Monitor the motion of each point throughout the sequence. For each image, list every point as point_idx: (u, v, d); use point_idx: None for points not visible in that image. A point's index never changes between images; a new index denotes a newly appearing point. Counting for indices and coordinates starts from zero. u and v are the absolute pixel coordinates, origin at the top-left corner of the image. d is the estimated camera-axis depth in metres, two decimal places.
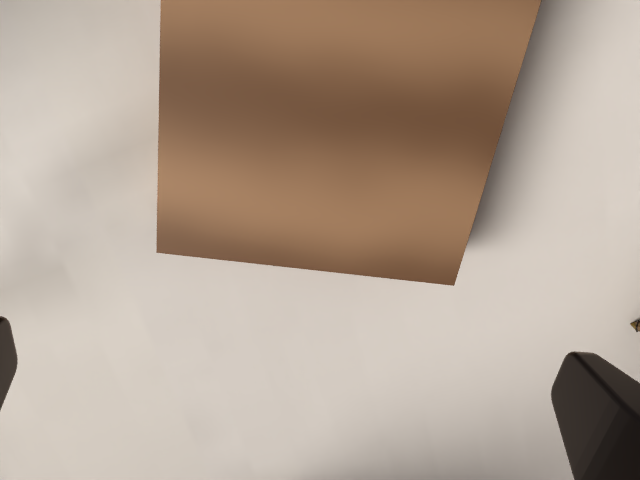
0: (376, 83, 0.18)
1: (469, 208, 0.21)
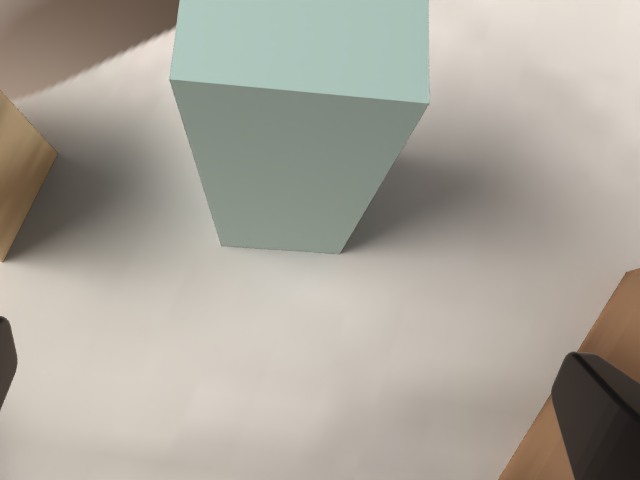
0: None
1: None
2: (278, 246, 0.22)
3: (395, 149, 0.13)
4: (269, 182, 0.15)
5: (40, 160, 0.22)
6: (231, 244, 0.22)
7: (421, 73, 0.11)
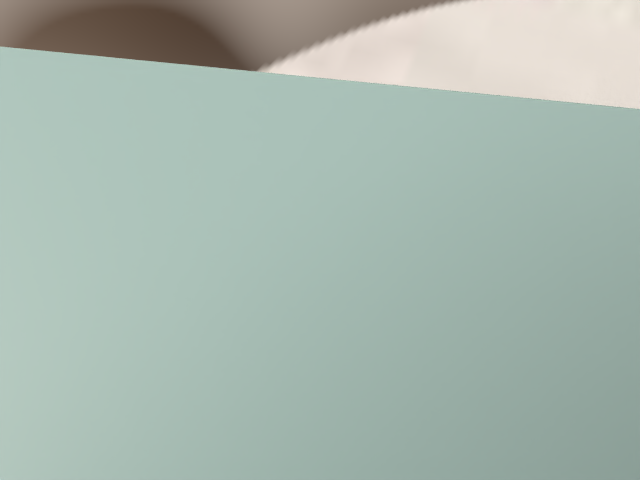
0: None
1: None
2: None
3: None
4: None
5: None
6: None
7: None
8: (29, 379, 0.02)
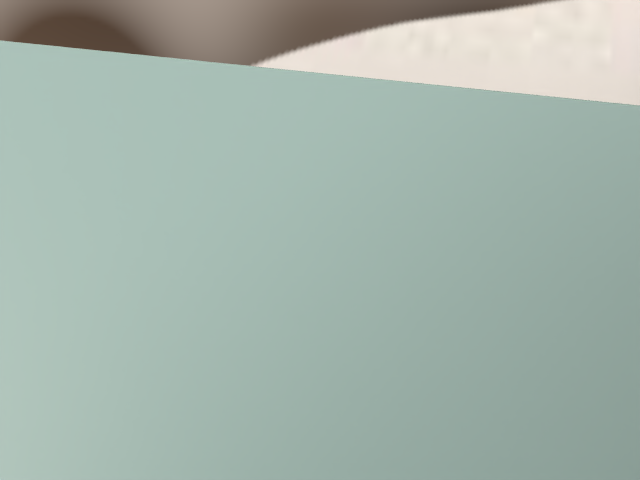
0: None
1: None
2: None
3: None
4: None
5: None
6: None
7: None
8: (35, 358, 0.03)
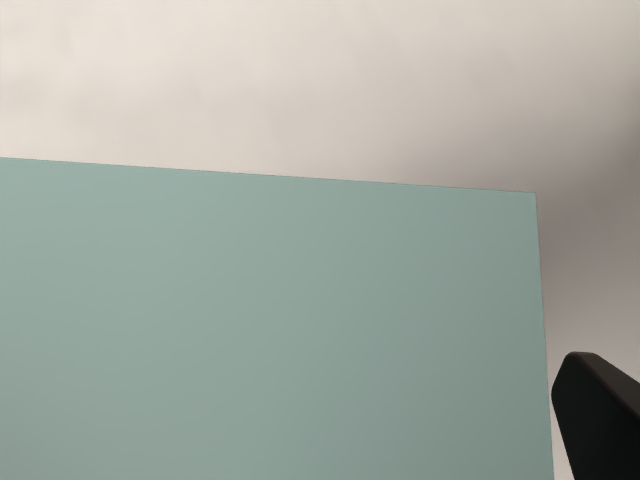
0: None
1: None
2: None
3: None
4: None
5: None
6: None
7: None
8: (59, 356, 0.04)
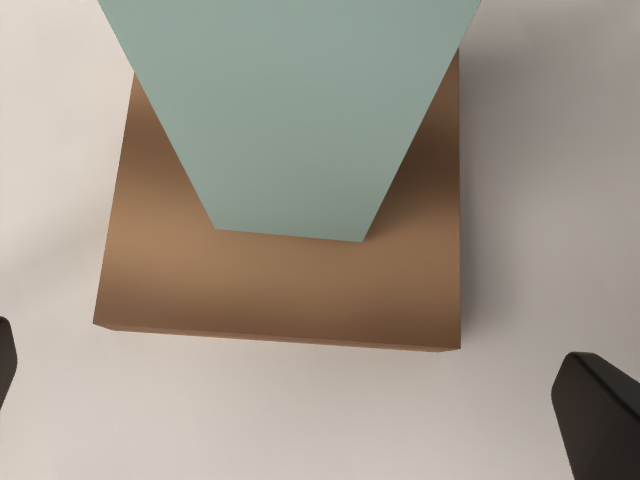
0: None
1: (451, 247, 0.19)
2: (285, 230, 0.18)
3: (441, 60, 0.08)
4: (256, 127, 0.11)
5: None
6: (227, 227, 0.18)
7: None
8: None
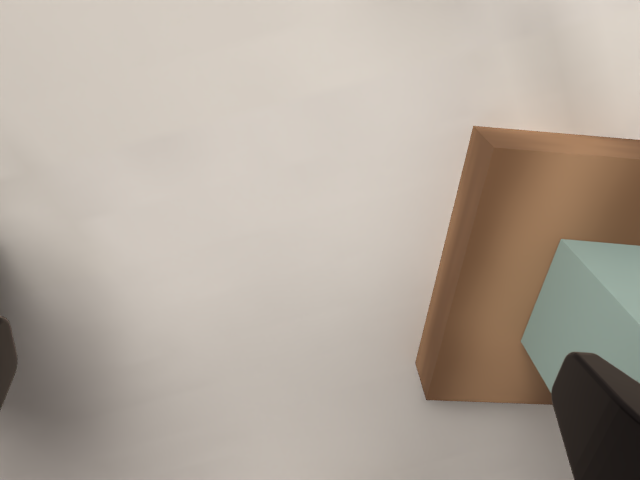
0: None
1: (501, 397, 0.25)
2: (546, 298, 0.21)
3: None
4: None
5: None
6: (561, 253, 0.20)
7: None
8: None
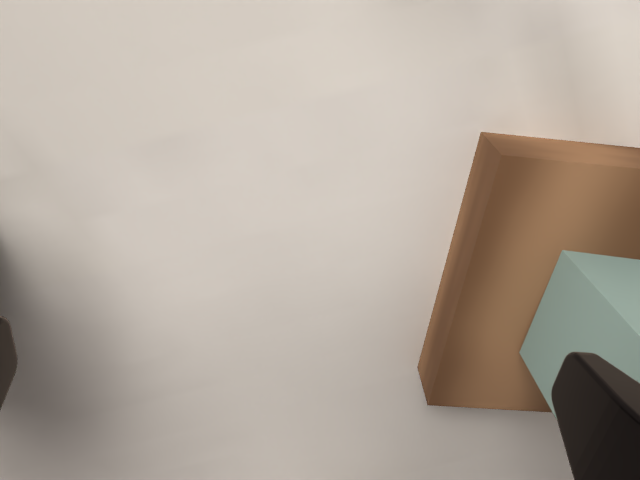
0: None
1: (503, 404, 0.25)
2: (546, 309, 0.21)
3: None
4: None
5: None
6: (562, 264, 0.20)
7: None
8: None
